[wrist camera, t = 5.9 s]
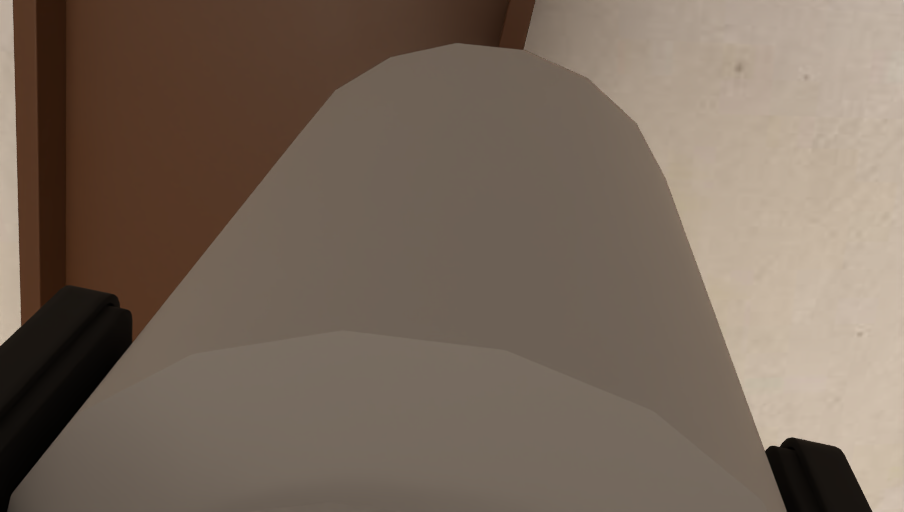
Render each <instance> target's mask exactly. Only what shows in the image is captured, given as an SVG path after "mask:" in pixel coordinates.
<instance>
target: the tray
mask: <svg viewBox="0 0 904 512" xmlns="http://www.w3.org/2000/svg"><path fill="white" fill-rule="evenodd" d="M534 4H535V0H13V22H14V61H15V100H16V138H17V177H18V216H19V255H20V294H21V326H22V325H23V324H24V323H25V322H26V321H27V320H29V319H30V318H31V317H32V316H33V315H34V314H35V313H36V312H37V311H38V310H39V309H40V308H41V307H42V306H43V305H44V304H45V303H46V302H47V301H49V300H50V299H51V298H52V297H53V296H54V295H55V294H56V293H57V292H58V291H59V290H60V289H61V288H63V287H64V286H66V285H73V286H77V287H82V288H87V289H92V290H96V291H101V292H106V293H110V294H114V295H116V296H117V297H118V300H119V302H120V308H123V309H128V310H129V311H131V314H132V321H133V326H132V343H133V341H134V340H135V339H136V338H137V336H138V335H139V334H140V333H141V331H142V330H143V329H144V328H145V326H146V325H147V324H148V323H149V321H150V320H151V319H152V318H153V316H154V315H155V314H156V313H157V311H158V310H159V309H160V308H161V306H162V305H163V304H164V303H165V301H166V300H167V299H168V298H169V296H170V295H171V294H172V293H173V291H174V290H175V289H176V288H177V286H178V285H179V284H180V283H181V281H182V280H183V279H184V278H185V276H186V275H187V274H188V273H189V271H190V270H191V269H192V268H193V266H194V265H195V264H196V263H197V261H198V260H199V259H200V258H201V256H202V255H203V254H204V253H205V251H206V250H207V249H208V248H209V246H210V245H211V244H212V243H213V241H214V240H215V239H216V238H217V236H218V235H219V234H220V233H221V231H222V230H223V229H224V228H225V226H226V225H227V224H228V223H229V221H230V220H231V219H232V218H233V216H234V215H235V214H236V213H237V211H238V210H239V209H240V208H241V206H242V205H243V204H244V203H245V201H246V200H247V199H248V198H249V196H250V195H251V194H252V193H253V191H254V190H255V189H256V188H257V186H258V185H259V184H260V183H261V181H262V180H263V179H264V178H265V176H266V175H267V174H268V173H269V171H270V170H271V169H272V168H273V166H274V165H275V164H276V163H277V161H278V160H279V159H280V158H281V156H282V155H283V154H284V153H285V151H286V150H287V149H288V148H289V146H290V145H291V144H292V143H293V141H294V140H295V139H296V138H297V136H298V135H299V134H300V133H301V131H302V130H303V129H304V128H305V127H306V125H307V124H308V123H309V122H310V121H311V119H312V118H313V117H314V116H315V114H316V113H317V112H318V111H319V110H320V108H321V107H322V106H323V105H324V103H325V102H326V101H327V100H328V99H329V97H330V96H331V95H332V94H333V93H334V91H335V90H337V89H338V88H340V87H342V86H343V85H345V84H347V83H348V82H350V81H352V80H353V79H355V78H357V77H358V76H360V75H362V74H363V73H365V72H367V71H368V70H370V69H372V68H373V67H375V66H377V65H378V64H380V63H382V62H383V61H385V60H387V59H388V58H390V57H394V56H399V55H403V54H408V53H413V52H417V51H422V50H427V49H431V48H436V47H440V46H445V45H450V44H454V43H461V44H471V45H480V46H489V47H499V48H508V49H518V50H523V49H524V45H525V41H526V37H527V32H528V28H529V24H530V20H531V16H532V12H533V8H534Z"/></svg>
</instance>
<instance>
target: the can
mask: <svg viewBox="0 0 904 512" xmlns="http://www.w3.org/2000/svg"><path fill="white" fill-rule="evenodd" d="M7 512H787V511H786V508H785V505H784V503H783V500H782V497H781V494H780V492H779V489H778V486H777V483H776V481H775V478H774V475H773V472H772V470H771V467H770V464H769V461H768V459H767V456H766V453H765V450H764V448H763V445H762V442H761V439H760V437H759V434H758V431H757V428H756V426H755V423H754V420H753V417H752V415H751V412H750V409H749V406H748V404H747V401H746V398H745V395H744V393H743V390H742V387H741V384H740V382H739V379H738V376H737V373H736V371H735V368H734V365H733V362H732V360H731V357H730V354H729V351H728V349H727V346H726V343H725V340H724V338H723V335H722V332H721V329H720V327H719V324H718V321H717V318H716V316H715V313H714V310H713V307H712V305H711V302H710V299H709V297H708V294H707V291H706V288H705V286H704V283H703V280H702V277H701V275H700V272H699V269H698V266H697V264H696V261H695V258H694V255H693V253H692V250H691V247H690V244H689V242H688V239H687V236H686V233H685V231H684V228H683V225H682V222H681V220H680V217H679V214H678V211H677V209H676V206H675V203H674V200H673V198H672V195H671V192H670V189H669V187H668V184H667V181H666V178H665V177H664V175H663V173H662V171H661V169H660V167H659V165H658V163H657V161H656V159H655V158H654V156H653V154H652V152H651V150H650V148H649V146H648V144H647V142H646V141H645V139H644V137H643V135H642V133H641V131H640V129H639V127H638V125H637V123H636V122H635V121H633V120H632V119H631V118H630V117H629V116H628V115H627V114H626V113H625V112H624V111H623V110H622V109H620V108H619V107H618V106H617V105H616V104H615V103H614V102H613V101H612V100H611V99H610V98H609V97H608V96H606V95H605V94H604V93H603V92H602V91H601V90H600V89H599V88H598V87H597V86H596V85H595V84H593V83H592V82H591V81H590V80H589V79H588V78H586V77H584V76H582V75H579V74H577V73H575V72H573V71H570V70H568V69H566V68H564V67H561V66H559V65H557V64H555V63H553V62H550V61H548V60H546V59H544V58H541V57H539V56H537V55H535V54H533V53H530V52H528V51H526V50H518V49H508V48H499V47H489V46H480V45H471V44H461V43H454V44H450V45H445V46H440V47H436V48H431V49H427V50H422V51H417V52H413V53H408V54H403V55H399V56H394V57H390V58H388V59H387V60H385V61H383V62H382V63H380V64H378V65H377V66H375V67H373V68H372V69H370V70H368V71H367V72H365V73H363V74H362V75H360V76H358V77H357V78H355V79H353V80H352V81H350V82H348V83H347V84H345V85H343V86H342V87H340V88H338V89H337V90H335V91H334V93H333V94H332V95H331V96H330V97H329V99H328V100H327V101H326V102H325V103H324V105H323V106H322V107H321V108H320V110H319V111H318V112H317V113H316V114H315V116H314V117H313V118H312V119H311V121H310V122H309V123H308V124H307V125H306V127H305V128H304V129H303V130H302V131H301V133H300V134H299V135H298V136H297V138H296V139H295V140H294V141H293V143H292V144H291V145H290V146H289V148H288V149H287V150H286V151H285V153H284V154H283V155H282V156H281V158H280V159H279V160H278V161H277V163H276V164H275V165H274V166H273V168H272V169H271V170H270V171H269V173H268V174H267V175H266V176H265V178H264V179H263V180H262V181H261V183H260V184H259V185H258V186H257V188H256V189H255V190H254V191H253V193H252V194H251V195H250V196H249V198H248V199H247V200H246V201H245V203H244V204H243V205H242V206H241V208H240V209H239V210H238V211H237V213H236V214H235V215H234V216H233V218H232V219H231V220H230V221H229V223H228V224H227V225H226V226H225V228H224V229H223V230H222V231H221V233H220V234H219V235H218V236H217V238H216V239H215V240H214V241H213V243H212V244H211V245H210V246H209V248H208V249H207V250H206V251H205V253H204V254H203V255H202V256H201V258H200V259H199V260H198V261H197V263H196V264H195V265H194V266H193V268H192V269H191V270H190V271H189V273H188V274H187V275H186V276H185V278H184V279H183V280H182V281H181V283H180V284H179V285H178V286H177V288H176V289H175V290H174V291H173V293H172V294H171V295H170V296H169V298H168V299H167V300H166V301H165V303H164V304H163V305H162V306H161V308H160V309H159V310H158V311H157V313H156V314H155V315H154V316H153V318H152V319H151V320H150V321H149V323H148V324H147V325H146V326H145V328H144V329H143V330H142V331H141V333H140V334H139V335H138V336H137V338H136V339H135V340H134V341H133V343H132V344H131V345H130V346H129V348H128V349H127V350H126V351H125V353H124V354H123V355H122V356H121V358H120V359H119V360H118V361H117V363H116V364H115V365H114V366H113V368H112V369H111V370H110V372H109V373H108V374H107V375H106V377H105V378H104V379H103V380H102V382H101V383H100V384H99V385H98V387H97V388H96V389H95V390H94V392H93V393H92V394H91V395H90V397H89V398H88V399H87V400H86V402H85V403H84V404H83V405H82V407H81V408H80V409H79V410H78V412H77V413H76V414H75V415H74V417H73V418H72V419H71V420H70V422H69V423H68V424H67V425H66V427H65V428H64V429H63V430H62V432H61V433H60V434H59V435H58V437H57V438H56V439H55V440H54V442H53V443H52V444H51V445H50V447H49V448H48V449H47V450H46V452H45V453H44V454H43V455H42V457H41V458H40V459H39V460H38V462H37V463H36V464H35V465H34V467H33V468H32V469H31V470H30V472H29V473H28V474H27V475H26V477H25V478H24V479H23V480H22V482H21V483H20V484H19V485H18V487H17V488H16V489H15V490H14V492H13V493H12V494H11V497H10V502H9V506H8V510H7Z"/></svg>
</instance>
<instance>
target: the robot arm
mask: <svg viewBox="0 0 904 512" xmlns="http://www.w3.org/2000/svg"><path fill="white" fill-rule="evenodd" d="M132 326H133V321H132V314H131V311H129V310H128V309H123V308H120V302H119V300H118V297H117V296H116V295H114V294H110V293H106V292H101V291H96V290H92V289H87V288H82V287H77V286H73V285H66V286H64V287H63V288H61V289H60V290H59V291H58V292H57V293H56V294H55V295H54V296H53V297H52V298H51V299H50V300H49V301H47V302H46V303H45V304H44V305H43V306H42V307H41V308H40V309H39V310H38V311H37V312H36V313H35V314H34V315H33V316H32V317H31V318H30V319H29V320H27V321H26V322H25V323H24V324H23V325H22V326H21V327H20V328H19V329H18V330H17V331H16V332H15V333H14V334H13V335H12V336H11V337H10V338H9V339H8V340H6V341H5V342H4V343H3V344H2V345H1V346H0V512H7V510H8V506H9V502H10V497H11V494H12V493H13V492H14V490H15V489H16V488H17V487H18V485H19V484H20V483H21V482H22V480H23V479H24V478H25V477H26V475H27V474H28V473H29V472H30V470H31V469H32V468H33V467H34V465H35V464H36V463H37V462H38V460H39V459H40V458H41V457H42V455H43V454H44V453H45V452H46V450H47V449H48V448H49V447H50V445H51V444H52V443H53V442H54V440H55V439H56V438H57V437H58V435H59V434H60V433H61V432H62V430H63V429H64V428H65V427H66V425H67V424H68V423H69V422H70V420H71V419H72V418H73V417H74V415H75V414H76V413H77V412H78V410H79V409H80V408H81V407H82V405H83V404H84V403H85V402H86V400H87V399H88V398H89V397H90V395H91V394H92V393H93V392H94V390H95V389H96V388H97V387H98V385H99V384H100V383H101V382H102V380H103V379H104V378H105V377H106V375H107V374H108V373H109V372H110V370H111V369H112V368H113V366H114V365H115V364H116V363H117V361H118V360H119V359H120V358H121V356H122V355H123V354H124V353H125V351H126V350H127V349H128V348H129V346H130V345H131V344H132ZM765 453H766V456H767V459H768V461H769V464H770V467H771V470H772V472H773V475H774V478H775V481H776V483H777V486H778V489H779V492H780V494H781V497H782V500H783V503H784V505H785V508H786V511H787V512H872V510H871V508H870V506H869V504H868V502H867V500H866V498H865V496H864V494H863V492H862V490H861V488H860V486H859V484H858V482H857V479H856V477H855V475H854V473H853V471H852V469H851V467H850V465H849V463H848V461H847V459H846V457H845V455H844V453H843V452H842V451H841V449H839V448H837V447H835V446H830V445H825V444H821V443H816V442H811V441H807V440H802V439H797V438H787V439H786V440H785V441H784V442H783V443H782V444H781V446H780V447H777V446H770V447H769V448H768V449H767V450H766V451H765Z"/></svg>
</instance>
